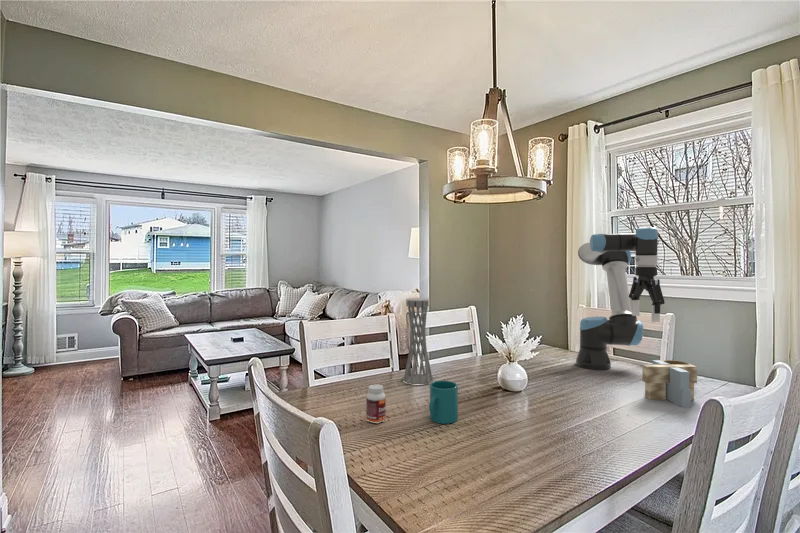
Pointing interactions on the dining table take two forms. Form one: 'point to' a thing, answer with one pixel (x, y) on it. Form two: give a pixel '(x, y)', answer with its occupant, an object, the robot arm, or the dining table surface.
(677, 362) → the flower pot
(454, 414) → the cup
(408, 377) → the vase
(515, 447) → the dining table surface
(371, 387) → the pill bottle
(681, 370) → the slate board
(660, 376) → the maple board
